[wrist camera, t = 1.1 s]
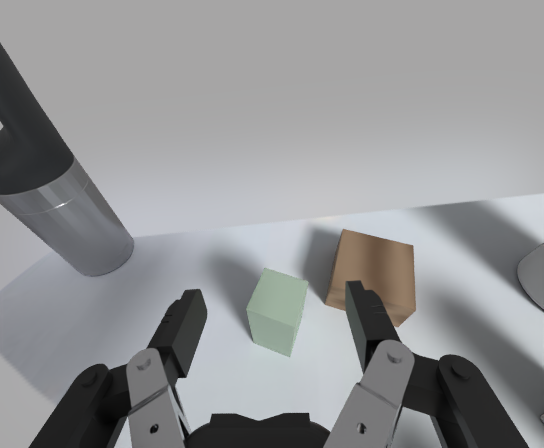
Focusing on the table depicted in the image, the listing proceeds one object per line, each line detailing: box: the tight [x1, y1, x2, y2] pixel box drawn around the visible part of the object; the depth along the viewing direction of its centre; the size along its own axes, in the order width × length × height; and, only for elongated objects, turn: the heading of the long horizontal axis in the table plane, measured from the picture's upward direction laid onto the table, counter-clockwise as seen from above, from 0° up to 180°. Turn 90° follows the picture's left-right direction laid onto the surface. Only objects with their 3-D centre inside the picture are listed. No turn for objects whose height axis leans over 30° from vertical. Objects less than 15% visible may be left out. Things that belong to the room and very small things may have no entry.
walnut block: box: [325, 229, 416, 327], centre depth 36 cm, size 10×10×6 cm
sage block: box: [246, 268, 308, 357], centre depth 29 cm, size 5×5×11 cm
